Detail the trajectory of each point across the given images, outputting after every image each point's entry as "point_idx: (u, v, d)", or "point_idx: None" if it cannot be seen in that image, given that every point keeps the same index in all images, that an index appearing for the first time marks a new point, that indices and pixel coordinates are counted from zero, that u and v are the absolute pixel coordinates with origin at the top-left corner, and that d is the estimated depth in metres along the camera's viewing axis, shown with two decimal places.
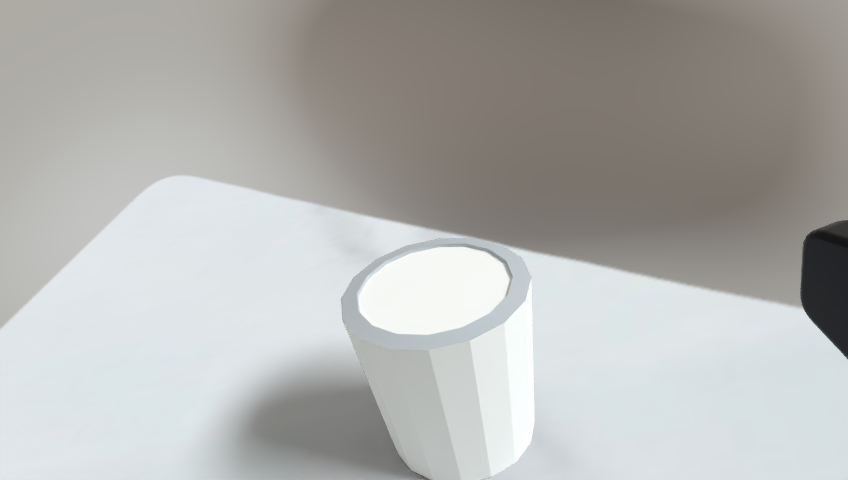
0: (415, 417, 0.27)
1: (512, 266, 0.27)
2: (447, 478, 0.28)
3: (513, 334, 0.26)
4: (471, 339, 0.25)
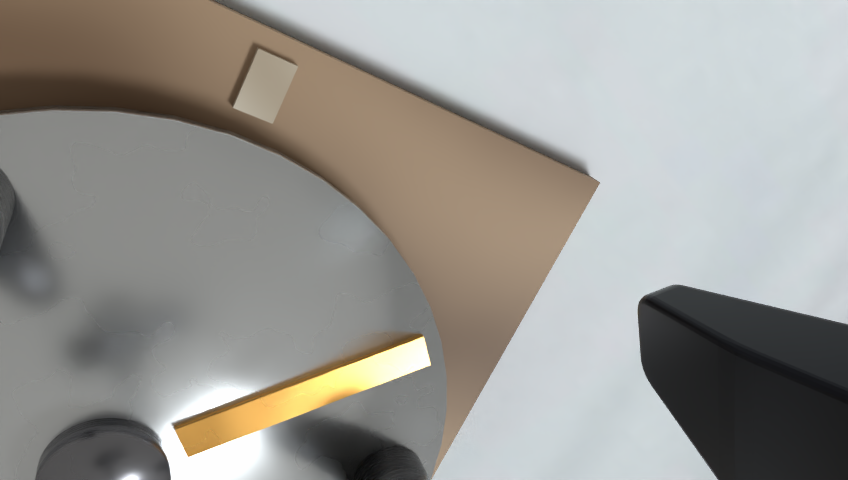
0: None
1: None
2: None
3: None
4: None
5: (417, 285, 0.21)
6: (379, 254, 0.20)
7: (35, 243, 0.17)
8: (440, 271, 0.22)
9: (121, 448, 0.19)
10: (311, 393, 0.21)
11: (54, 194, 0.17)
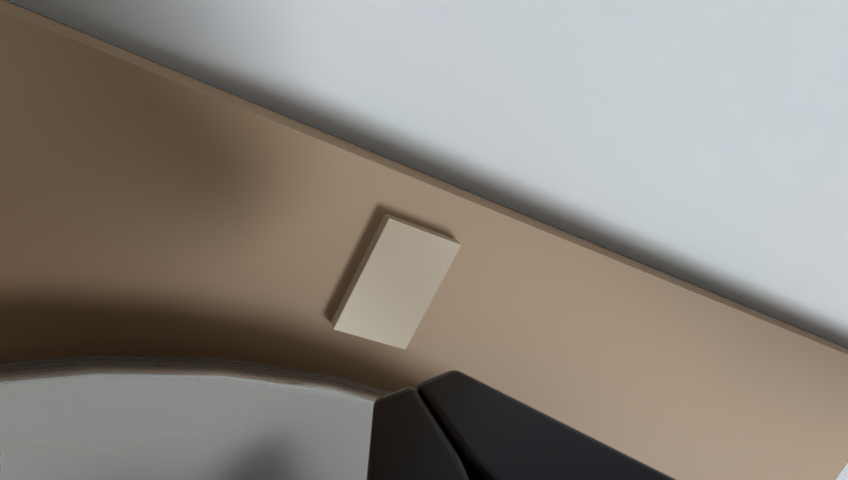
0: None
1: None
2: None
3: None
4: None
5: None
6: None
7: None
8: None
9: None
10: None
11: None
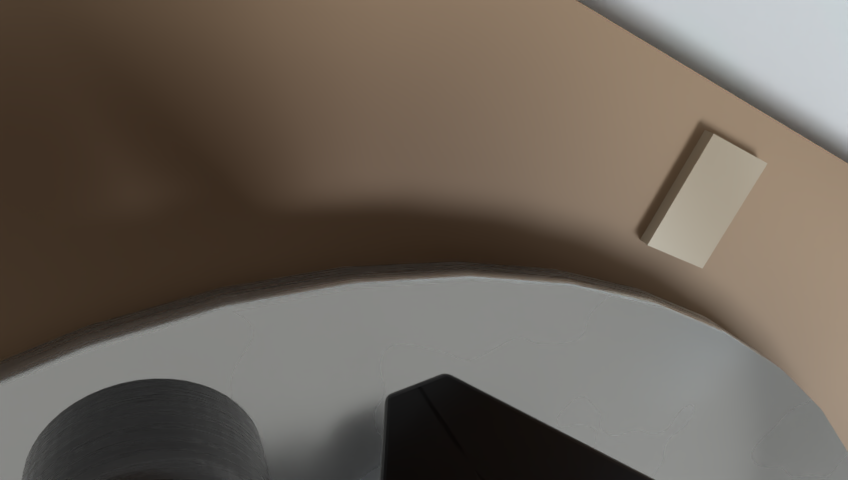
0: None
1: None
2: None
3: None
4: None
5: None
6: (826, 475, 0.11)
7: None
8: None
9: None
10: None
11: (336, 446, 0.08)
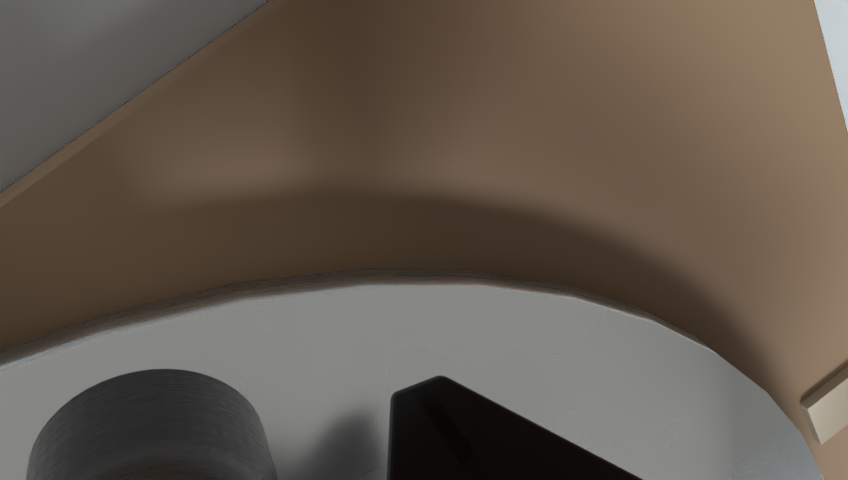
0: None
1: None
2: None
3: None
4: None
5: None
6: None
7: None
8: None
9: None
10: None
11: (339, 446, 0.08)
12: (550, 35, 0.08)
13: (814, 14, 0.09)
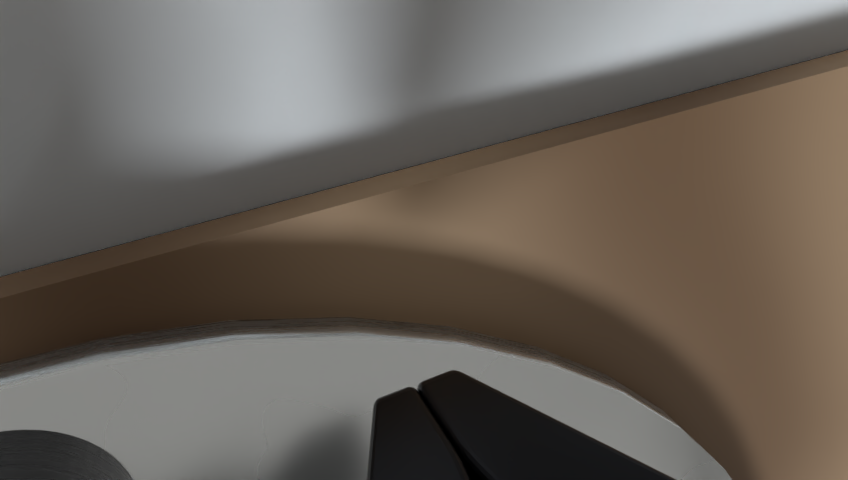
0: None
1: None
2: None
3: None
4: None
5: None
6: None
7: None
8: None
9: None
10: None
11: None
12: (743, 225, 0.10)
13: None
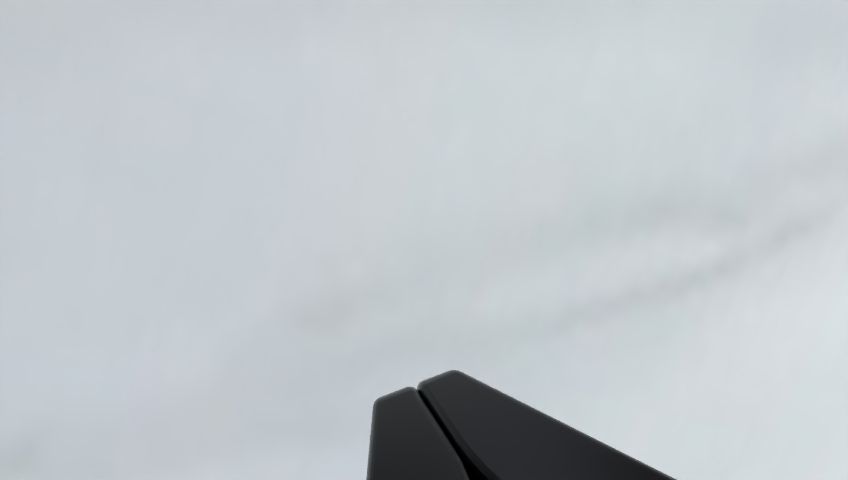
0: None
1: None
2: None
3: None
4: None
5: None
6: None
7: None
8: None
9: None
10: None
11: None
12: None
13: None
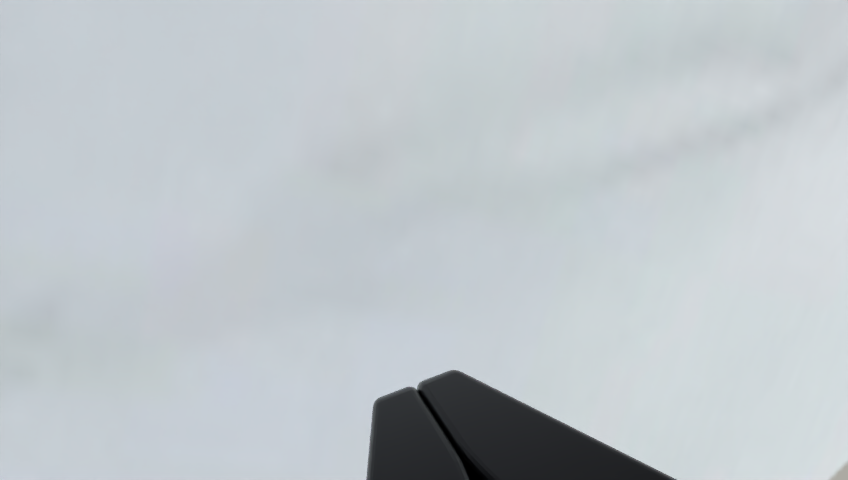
0: None
1: None
2: None
3: None
4: None
5: None
6: None
7: None
8: None
9: None
10: None
11: None
12: None
13: None
